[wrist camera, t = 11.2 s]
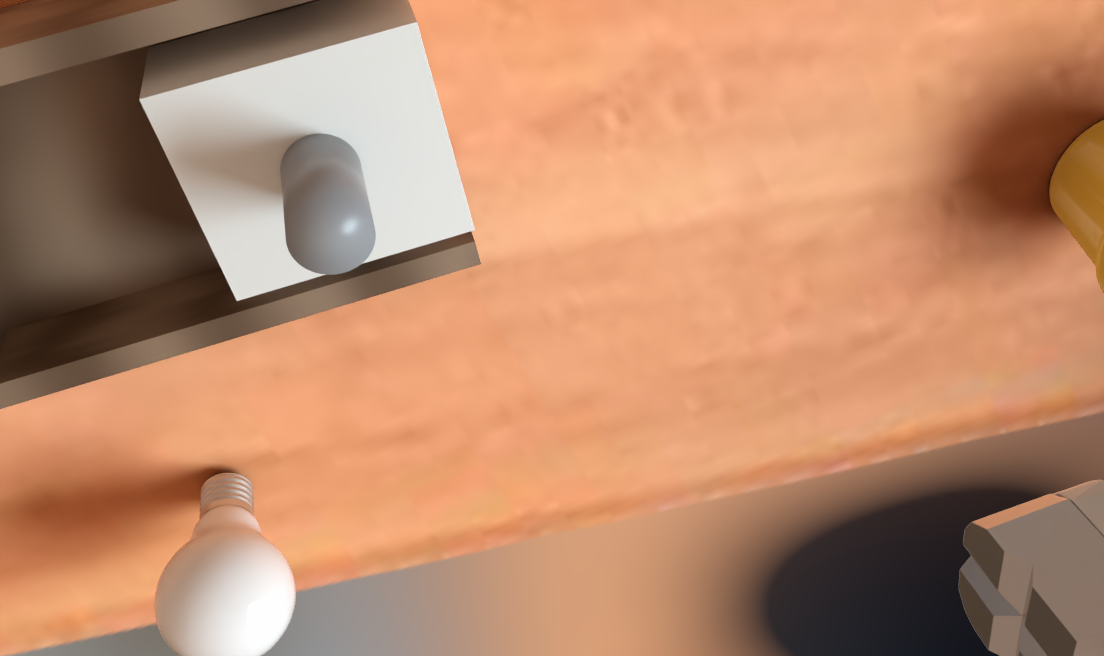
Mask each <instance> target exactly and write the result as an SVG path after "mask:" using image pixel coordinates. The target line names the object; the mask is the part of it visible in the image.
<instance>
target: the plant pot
mask: <svg viewBox="0 0 1104 656" xmlns="http://www.w3.org/2000/svg"><path fill="white" fill-rule="evenodd" d="M1049 196H1050V202H1051V205H1052V208H1053V210H1054V212H1055V213H1056V214H1057V216H1058V217H1059V218H1060V220H1061V221H1062V222H1063V224H1064V225H1065V226H1066V228H1067V229H1068V230H1069V231H1070V233H1071V234H1072V235H1073V237H1074V238H1075V239H1076V241H1077V242H1078V243H1079V244H1080V246H1081V247H1082V248H1083V250H1084V251H1085V252H1086V254H1087V255H1088V256H1089V258H1090V259H1091V260H1092V262H1093V263H1094V264H1095V266H1096V275H1097V279H1098V283H1099V285H1100V287H1101V289H1102V291H1103V293H1104V120H1102V121H1100V122H1098V123H1096V124H1095V125H1093V126H1091V127H1090V128H1089V129H1087V130H1086V131H1085V132H1083V133H1082V134H1081V135H1080V136H1079V137H1078V138H1076V139H1075V140H1074V141H1073V142H1072V144H1071V145H1070V146H1069V147H1068V148H1067V150H1066V151H1065V152H1064V154H1063V155H1062V157H1061V158H1060V160H1059V162H1058V163H1057V165H1056V167H1055V170H1054V172H1053V174H1052V177H1051V181H1050V188H1049Z"/></svg>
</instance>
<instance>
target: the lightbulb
mask: <svg viewBox="0 0 1104 656" xmlns="http://www.w3.org/2000/svg"><path fill="white" fill-rule="evenodd" d="M200 493H201V496H200V517H199V521H198V522H197V524H196V526H195V528H194V530H193V533H192V536H191V539H190V540H189V541H188V542H187V543H186V544H185V545H184V546H182V547H181V548H180V549H179V550H178V551H177V552H176V553H175V555H174V556H173V557H172V558H171V559H170V561H169V562H168V563H167V565H166V567H165V568H164V570H163V572H162V574H161V576H160V579H159V581H158V584H157V588H156V593H155V601H154V608H155V617H156V621H157V625H158V627H159V630H160V632H161V634H162V636H163V638H164V640H165V641H166V643H167V644H168V645H169V646H170V648H171V649H172V650H173V651H174V652H175V653H176V654H178V655H179V656H262V655H263V654H265V653H266V652H267V651H269V650H270V649H271V648H272V647H273V646H274V645H275V644H276V643H277V641H278V640H279V639H280V638H281V637H282V635H283V634H284V632H285V630H286V629H287V627H288V625H289V622H290V620H291V618H292V614H293V611H294V607H295V599H296V598H295V597H296V589H295V581H294V577H293V573H292V570H291V568H290V566H289V564H288V562H287V560H286V558H285V557H284V556H283V554H282V553H281V552H280V551H279V549H278V548H277V547H276V546H275V545H274V544H272V543H271V542H270V541H269V540H268V539H266V538H265V537H264V536H263V535H262V532H261V528H260V525H259V523H258V521H257V520H256V518H255V517H254V489H253V485H252V483H251V482H250V480H249V479H247V478H246V477H244V476H242V475H240V474H236V473H221V474H217V475H215V476H213V477H211V478H209V479H208V480H207V481H205V483H204V484H203V485H202V488H201V492H200Z"/></svg>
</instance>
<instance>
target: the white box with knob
mask: <svg viewBox="0 0 1104 656" xmlns="http://www.w3.org/2000/svg"><path fill="white" fill-rule="evenodd" d="M139 100H140V102H141V104H142V106H143V108H144V110H145V113H146V115H147V117H148V119H149V121H150V123H151V125H152V127H153V129H154V131H155V133H156V135H157V137H158V139H159V141H160V143H161V146H162V148H163V150H164V152H165V154H166V156H167V158H168V160H169V162H170V164H171V166H172V168H173V170H174V172H175V174H176V176H177V179H178V181H179V183H180V185H181V187H182V189H183V191H184V193H185V195H186V197H187V199H188V201H189V203H190V205H191V207H192V209H193V212H194V214H195V216H196V218H197V220H198V222H199V224H200V226H201V228H202V230H203V232H204V234H205V236H206V238H207V240H208V242H209V245H210V247H211V249H212V251H213V253H214V255H215V257H216V259H217V261H218V263H219V265H220V267H221V269H222V271H223V273H224V275H225V278H226V280H227V282H228V284H229V286H230V288H231V290H232V292H233V294H234V296H235V298H236V300H237V301H239V300H242V299H246V298H249V297H253V296H256V295H259V294H263V293H266V292H269V291H273V290H276V289H279V288H283V287H286V286H289V285H293V284H296V283H299V282H303V281H306V280H309V279H313V278H316V277H320V276H323V275H334V274H341V273H345V272H348V271H350V270H352V269H354V268H356V267H358V266H359V265H361V264H363V263H366V262H370V261H373V260H376V259H380V258H383V257H386V256H390V255H393V254H397V253H400V252H403V251H407V250H410V249H413V248H417V247H420V246H423V245H427V244H430V243H433V242H437V241H440V240H443V239H447V238H450V237H453V236H457V235H460V234H463V233H467V232H470V231H474V230H475V228H474V225H473V221H472V218H471V214H470V210H469V207H468V203H467V200H466V196H465V193H464V189H463V185H462V182H461V178H460V175H459V171H458V167H457V164H456V160H455V157H454V153H453V149H452V146H451V142H450V139H449V135H448V131H447V128H446V124H445V121H444V117H443V114H442V110H441V106H440V103H439V99H438V96H437V92H436V88H435V85H434V81H433V78H432V74H431V70H430V67H429V63H428V60H427V56H426V52H425V49H424V45H423V42H422V38H421V35H420V31H419V27H418V24H417V21H416V18H415V16H414V14H413V11H412V9H411V6H410V4H409V1H408V0H319V1H315V2H312V3H308V4H304V5H301V6H297V7H293V8H290V9H286V10H282V11H279V12H275V13H272V14H268V15H264V16H261V17H257V18H253V19H250V20H246V21H243V22H239V23H235V24H232V25H228V26H224V27H221V28H217V29H213V30H210V31H206V32H203V33H199V34H195V35H192V36H188V37H184V38H181V39H177V40H173V41H170V42H166V43H163V44H159V45H155V46H152V47H149V48H148V54H147V59H146V65H145V70H144V76H143V81H142V87H141V92H140V98H139Z"/></svg>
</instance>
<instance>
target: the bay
mask: <svg viewBox="0 0 1104 656" xmlns="http://www.w3.org/2000/svg"><path fill="white" fill-rule="evenodd" d="M315 1H319V0H30V1H26V2H23V3H19V4H15V5H12V6H8V7H4V8H0V409H2V408H5V407H8V406H12V405H15V404H18V403H22V402H25V401H28V400H32V399H35V398H38V397H42V396H45V395H48V394H52V393H55V392H58V391H61V390H65V389H68V388H71V387H75V386H78V385H81V384H85V383H88V382H91V381H95V380H98V379H101V378H105V377H108V376H111V375H114V374H118V373H121V372H124V371H128V370H131V369H134V368H138V367H141V366H144V365H148V364H151V363H154V362H158V361H161V360H164V359H168V358H171V357H174V356H177V355H181V354H184V353H187V352H191V351H194V350H197V349H201V348H204V347H207V346H211V345H214V344H217V343H221V342H224V341H227V340H230V339H234V338H237V337H240V336H244V335H247V334H250V333H254V332H257V331H260V330H264V329H267V328H270V327H274V326H277V325H280V324H284V323H287V322H290V321H293V320H297V319H300V318H303V317H307V316H310V315H313V314H317V313H320V312H323V311H327V310H330V309H333V308H337V307H340V306H343V305H346V304H350V303H353V302H356V301H360V300H363V299H366V298H370V297H373V296H376V295H380V294H383V293H386V292H390V291H393V290H396V289H400V288H403V287H406V286H409V285H413V284H416V283H419V282H423V281H426V280H429V279H433V278H436V277H439V276H443V275H446V274H449V273H453V272H456V271H459V270H462V269H466V268H469V267H472V266H476V265H479V264H481V262H480V259H479V255H478V252H477V248H476V245H475V241H474V238H473V236H472V233H471V231H470V232H467V233H463V234H460V235H457V236H453V237H450V238H447V239H443V240H440V241H437V242H433V243H430V244H427V245H423V246H420V247H417V248H413V249H410V250H407V251H403V252H400V253H397V254H393V255H390V256H386V257H383V258H380V259H376V260H373V261H370V262H366V263H363V264H361V265H359V266H358V267H356V268H354V269H352V270H350V271H348V272H345V273H341V274H334V275H323V276H320V277H316V278H313V279H309V280H306V281H303V282H299V283H296V284H293V285H289V286H286V287H283V288H279V289H276V290H273V291H269V292H266V293H263V294H259V295H256V296H253V297H249V298H246V299H242V300H239V301H237V300H236V298H235V296H234V294H233V292H232V290H231V288H230V286H229V284H228V282H227V280H226V278H225V275H224V273H223V271H222V269H221V267H220V265H219V263H218V261H217V259H216V257H215V255H214V253H213V251H212V249H211V247H210V245H209V242H208V240H207V238H206V236H205V234H204V232H203V230H202V228H201V226H200V224H199V222H198V220H197V218H196V216H195V214H194V212H193V209H192V207H191V205H190V203H189V201H188V199H187V197H186V195H185V193H184V191H183V189H182V187H181V185H180V183H179V181H178V179H177V176H176V174H175V172H174V170H173V168H172V166H171V164H170V162H169V160H168V158H167V156H166V154H165V152H164V150H163V148H162V146H161V143H160V141H159V139H158V137H157V135H156V133H155V131H154V129H153V127H152V125H151V123H150V121H149V119H148V117H147V115H146V113H145V110H144V108H143V106H142V104H141V102H140V100H139V98H140V92H141V87H142V81H143V76H144V70H145V65H146V59H147V54H148V48H149V47H152V46H155V45H159V44H163V43H166V42H170V41H173V40H177V39H181V38H184V37H188V36H192V35H195V34H199V33H203V32H206V31H210V30H213V29H217V28H221V27H224V26H228V25H232V24H235V23H239V22H243V21H246V20H250V19H253V18H257V17H261V16H264V15H268V14H272V13H275V12H279V11H282V10H286V9H290V8H293V7H297V6H301V5H304V4H308V3H312V2H315Z"/></svg>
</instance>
